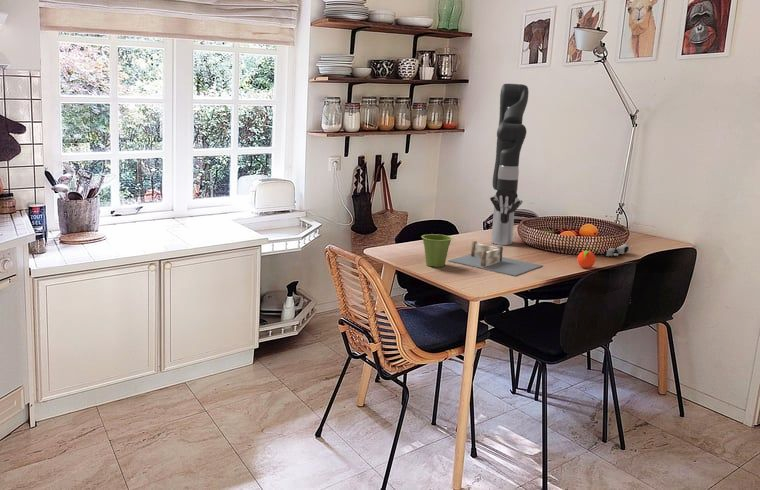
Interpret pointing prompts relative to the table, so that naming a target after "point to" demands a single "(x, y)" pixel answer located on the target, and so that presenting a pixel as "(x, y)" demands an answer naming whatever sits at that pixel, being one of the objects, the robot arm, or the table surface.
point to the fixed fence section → (480, 249)
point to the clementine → (586, 259)
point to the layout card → (498, 265)
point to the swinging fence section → (491, 256)
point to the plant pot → (436, 249)
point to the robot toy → (617, 250)
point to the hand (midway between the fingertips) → (504, 223)
